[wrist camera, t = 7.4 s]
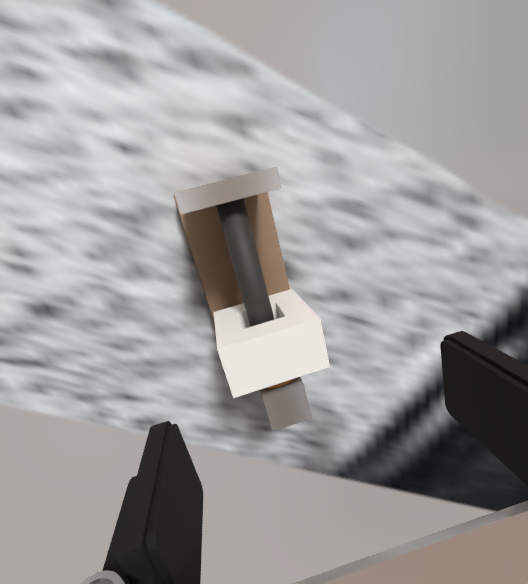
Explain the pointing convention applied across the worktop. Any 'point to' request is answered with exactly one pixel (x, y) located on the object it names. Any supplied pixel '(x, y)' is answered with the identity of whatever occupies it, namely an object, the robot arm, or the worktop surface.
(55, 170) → the worktop surface
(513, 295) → the worktop surface
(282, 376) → the sleeve
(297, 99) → the worktop surface
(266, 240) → the wooden stand
